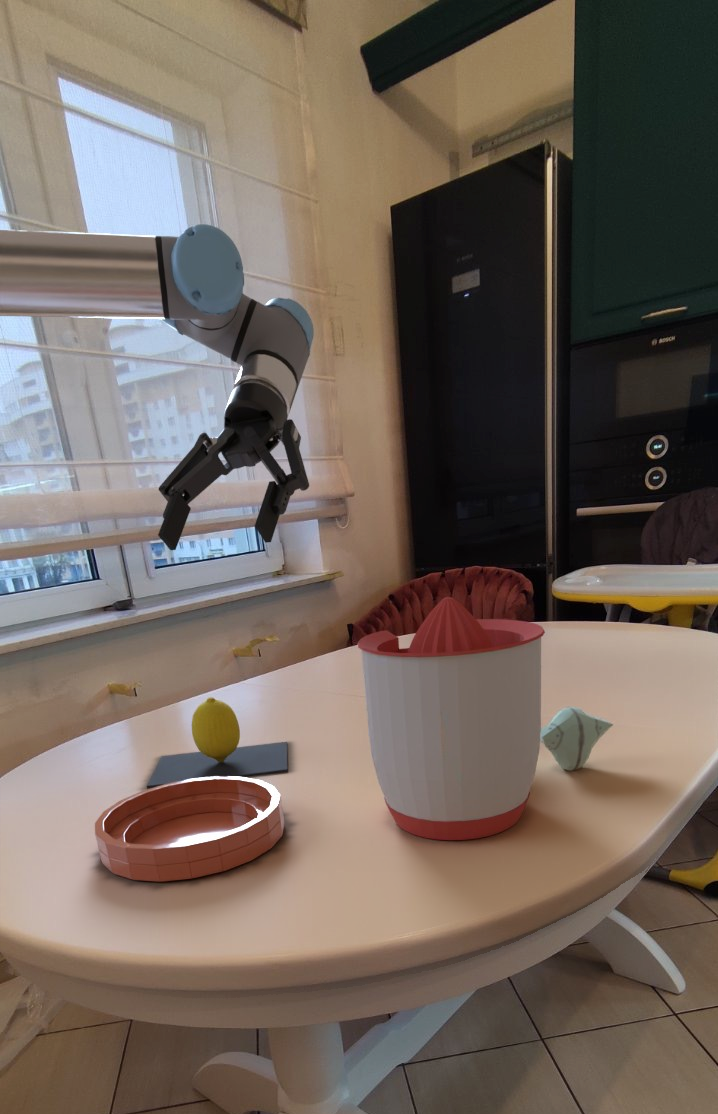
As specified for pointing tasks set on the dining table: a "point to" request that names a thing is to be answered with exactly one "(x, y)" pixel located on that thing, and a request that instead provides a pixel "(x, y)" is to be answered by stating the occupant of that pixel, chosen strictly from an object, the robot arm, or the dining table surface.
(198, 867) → the bowl
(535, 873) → the dining table surface
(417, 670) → the citrus juicer
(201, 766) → the mat
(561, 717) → the pale green angular piece
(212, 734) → the lemon
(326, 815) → the dining table surface
